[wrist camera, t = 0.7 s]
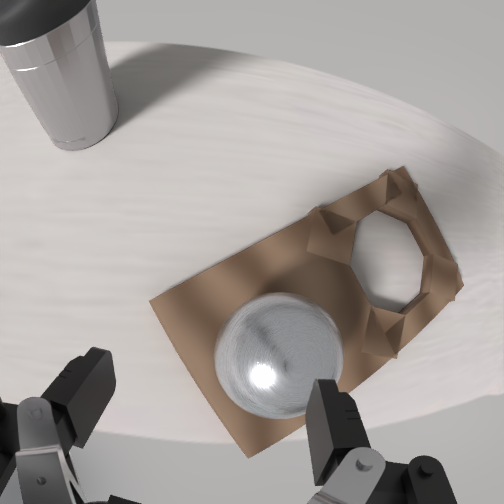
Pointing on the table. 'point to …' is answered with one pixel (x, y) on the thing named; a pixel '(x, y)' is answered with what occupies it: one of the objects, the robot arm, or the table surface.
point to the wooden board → (310, 296)
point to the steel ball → (277, 353)
